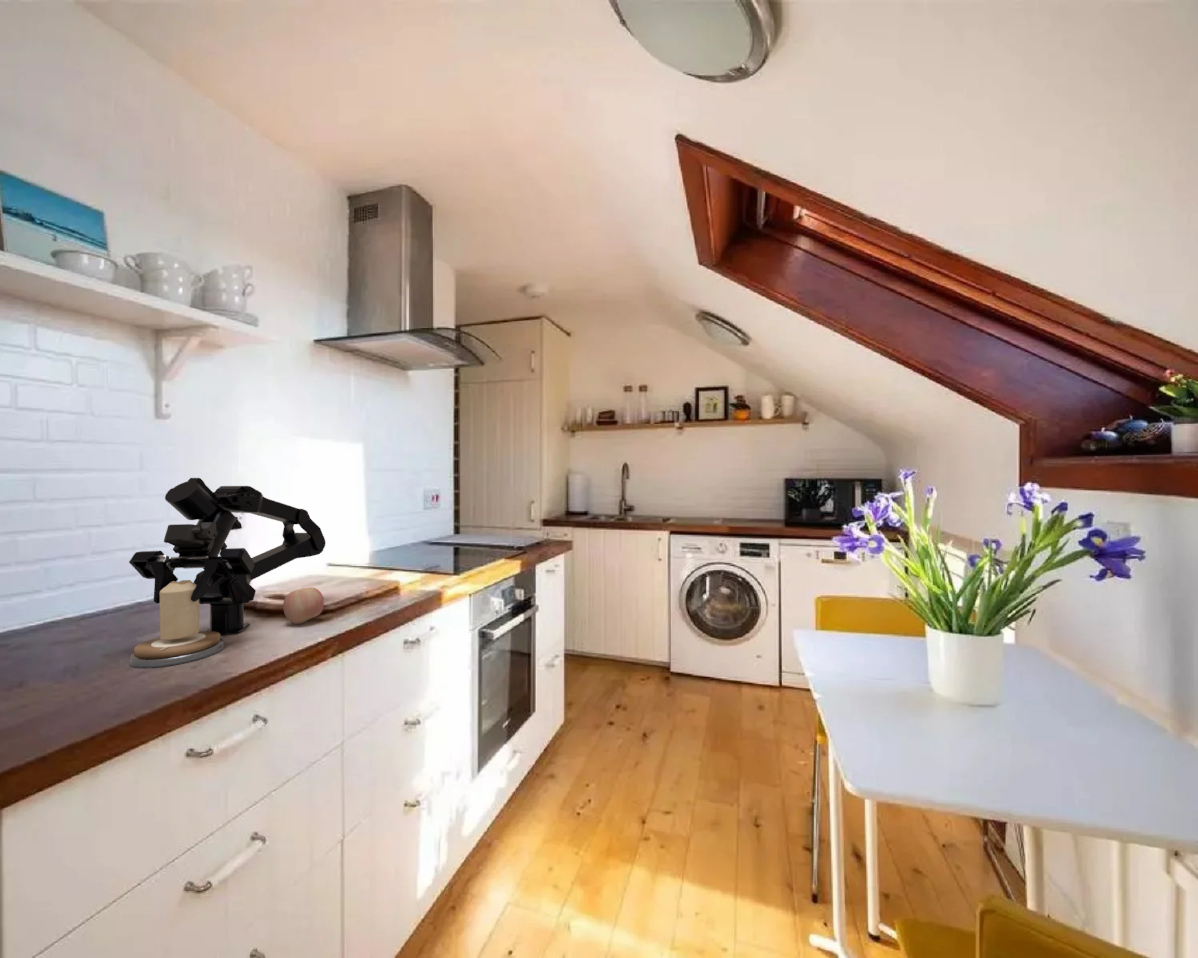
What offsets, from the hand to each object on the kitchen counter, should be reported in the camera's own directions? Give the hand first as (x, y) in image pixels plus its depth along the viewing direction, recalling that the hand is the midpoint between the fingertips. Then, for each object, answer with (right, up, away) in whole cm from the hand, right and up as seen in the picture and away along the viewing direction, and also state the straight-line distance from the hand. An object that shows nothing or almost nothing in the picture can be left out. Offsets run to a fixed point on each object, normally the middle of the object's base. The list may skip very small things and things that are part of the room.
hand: (174, 601), depth 88 cm
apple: (+11, -10, +21) cm, 26 cm away
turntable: (0, -9, +1) cm, 9 cm away
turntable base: (0, -10, +1) cm, 10 cm away
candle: (0, -7, +1) cm, 7 cm away
